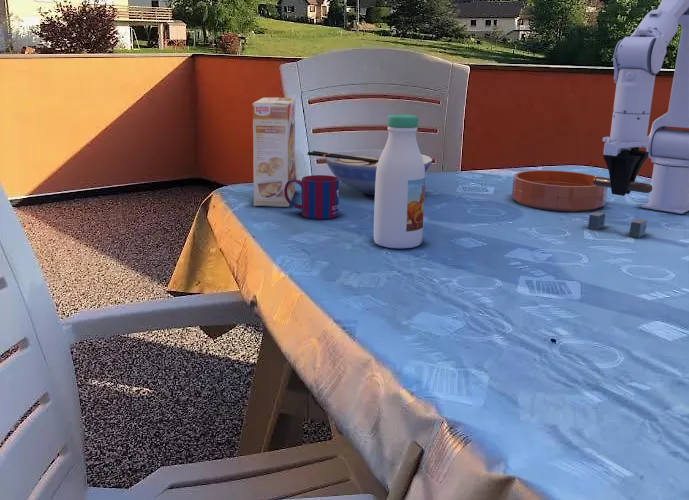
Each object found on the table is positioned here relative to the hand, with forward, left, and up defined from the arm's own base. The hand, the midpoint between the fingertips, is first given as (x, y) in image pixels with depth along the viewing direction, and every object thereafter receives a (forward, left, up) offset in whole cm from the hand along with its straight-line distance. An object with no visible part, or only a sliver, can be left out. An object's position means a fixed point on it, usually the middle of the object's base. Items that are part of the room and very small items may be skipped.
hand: (620, 193), depth 120 cm
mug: (+29, -45, -7) cm, 54 cm away
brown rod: (0, 0, +1) cm, 1 cm away
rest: (0, 0, -7) cm, 7 cm away
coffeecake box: (+25, -59, -7) cm, 65 cm away
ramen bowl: (+4, -50, -7) cm, 51 cm away
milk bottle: (+33, -22, -7) cm, 40 cm away
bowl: (-15, -18, -7) cm, 24 cm away
